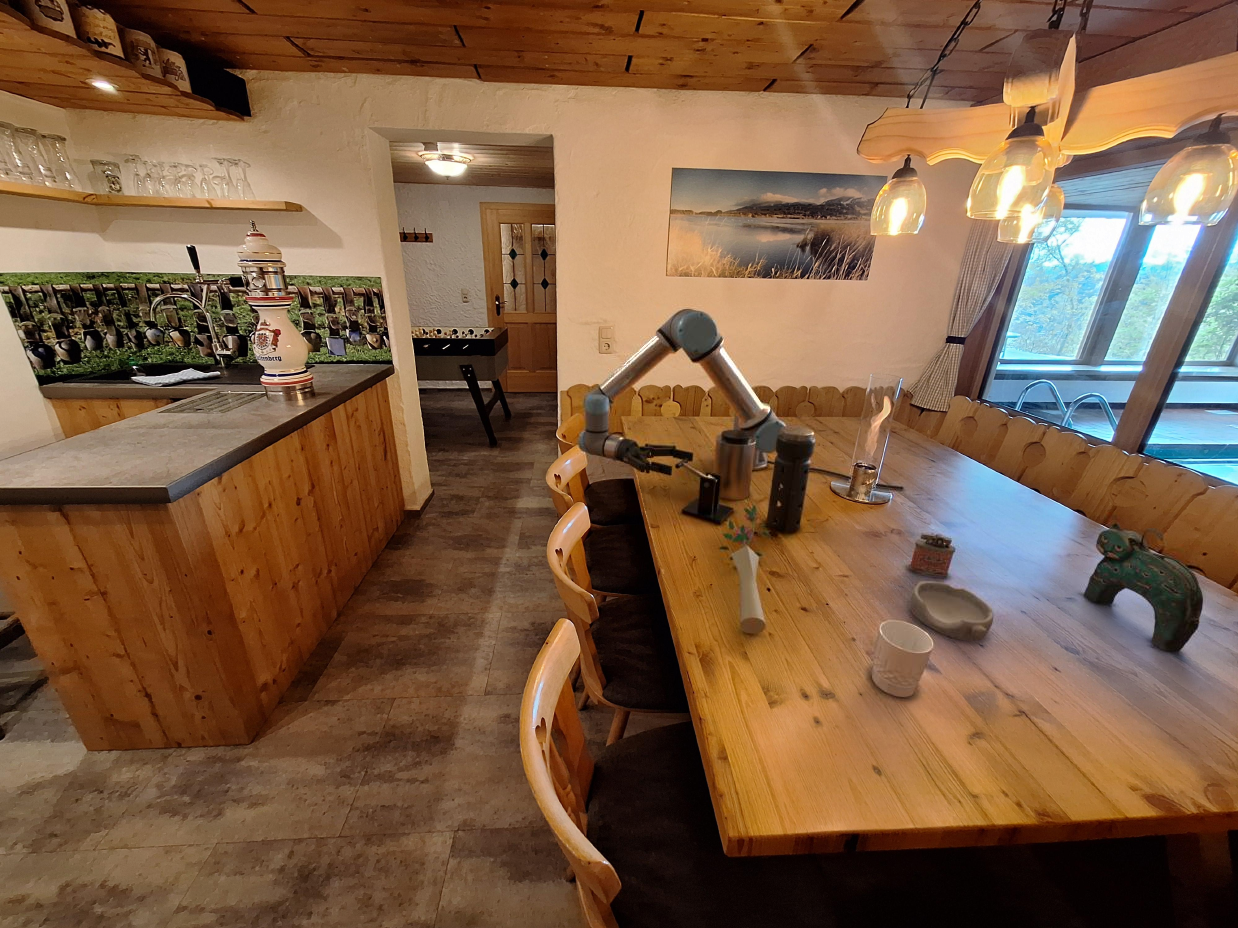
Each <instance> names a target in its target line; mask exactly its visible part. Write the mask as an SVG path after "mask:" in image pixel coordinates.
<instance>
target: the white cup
mask: <svg viewBox="0 0 1238 928" xmlns="http://www.w3.org/2000/svg"><path fill="white" fill-rule="evenodd" d="M934 645H935V644H934V640H933V638H932V637H931V636H930V635H929V634H928V633H927V631H925V630H923V629H921V628H920V627H919V626H916V625H914V624H912V623H909V622H907V621H903V620H896V619H889V620H885V621H882V623H880V624H879V627H878V632H877V638H876V643H875V648H874V654H873V661H872V668H871V673H870V674H871V679H872V681H873V683H874V684H875V685H876V687H877V688H879V689H880V690H882V691H883V692H884V693H887V694H889V695H891V696H894V697H899V698H907V697H911V696H913V695H914V694H915V692H916V690H917V687H918V685H919V683H920V681H921V679H922V676H923V674H924V672H925V669H926V667H927V664H928V661H929V660H930V656H931V654H932V651H933V650H934Z"/></svg>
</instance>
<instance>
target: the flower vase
mask: <svg viewBox="0 0 1238 928" xmlns="http://www.w3.org/2000/svg"><path fill="white" fill-rule="evenodd" d="M743 510H744V512H745V515H744V517H745V520H746V521H747V522H749V523H752V529H751V528H749V526H745V525H744V524H742V525H741V526H738V528H737V529H735V528H736V527H735V525H734V522H733V521H732V520H731V519H729V520H728V528H729V530H730V531H733V534H731V533H722V536H723V537H724V538H725V539H727V540H729V541H731V540H732V541H731V543H738V544H739V545H740V546H741V545H742V546H743V547H742V548H740V549H737V550H736V551H734V552H733V551H732V550H731V549H730V548H729V547H728V546H727V545H723V546H720V547H718V550H724V551H731V553H730V557H729V560H730V561H733V563H734V565H735V568H736V570H737V575H738V580H739V581H738V582H739V607H740V608H739V610H740V611H739V612H740V613H739V617H740V618H739V628H740V629H741V630H742V632H744V633H747V634H753V635H756V634H759V633H763V631H764V630H765V629H766V626H767V623H766V619H765V616H764V611H763V608H762V607H763V606H762V604H761V599H760V595H759V594H760V593H759V590H758V584H757V573H758V568H759V561H760V557H762V556H764V554H763V553H761V552H760V551H754V550H753V549H752V548H751V547H750V546H749V545H750V542H751V543H754V541H755V536H753V535H755V532H758V533H761V535H763V536H764V537H767V538H772V537H771V534H770V533H769V532H768V531H766V530H763V531H761V528H762V527H764V526H766V523H765V524H762V525H760V527H759V530H755V522H757V521H758V518H759V517H758V512H757V507H756V504H754V505H753V506H752V507H751V509H749V508H746V507H744V508H743ZM734 529H735V531H734Z"/></svg>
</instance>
